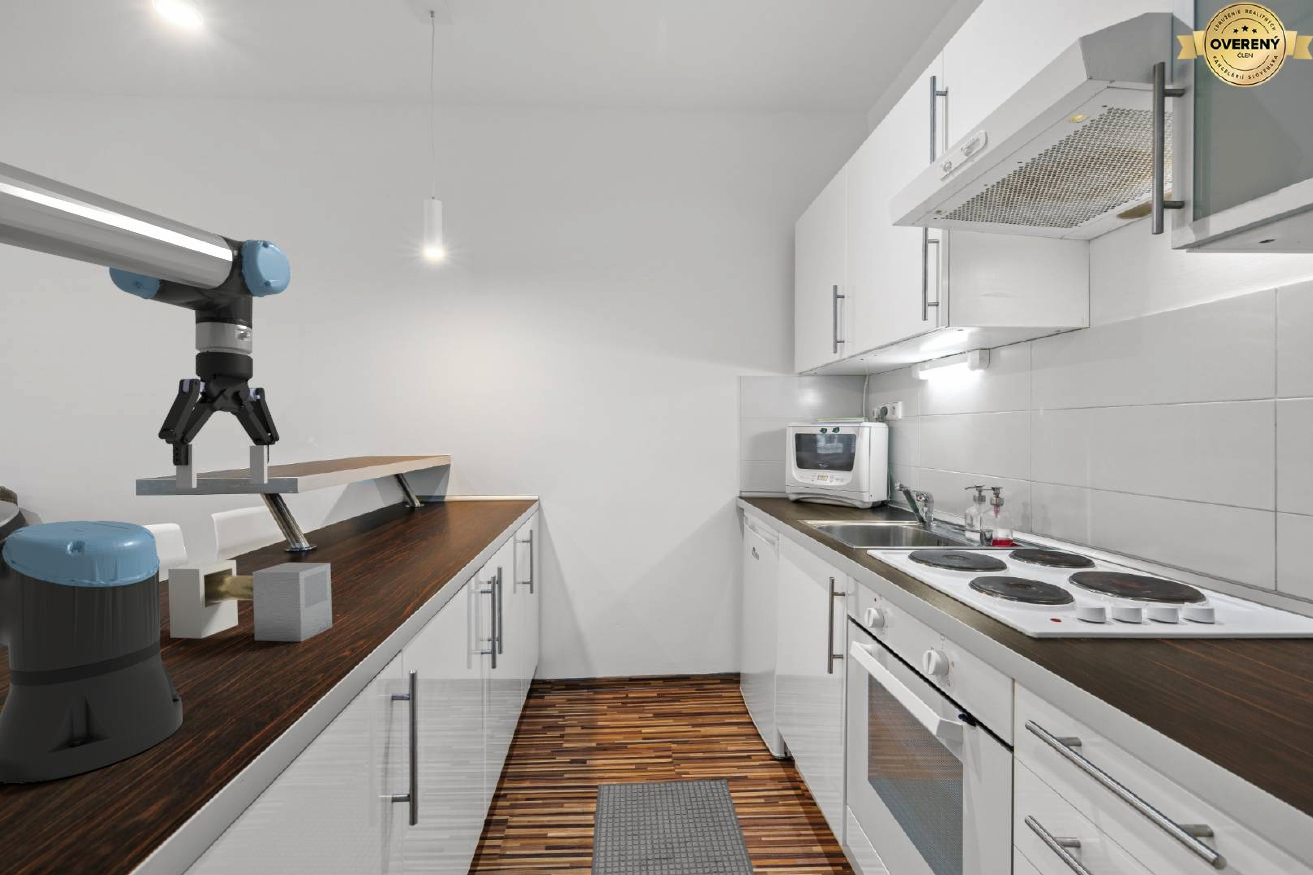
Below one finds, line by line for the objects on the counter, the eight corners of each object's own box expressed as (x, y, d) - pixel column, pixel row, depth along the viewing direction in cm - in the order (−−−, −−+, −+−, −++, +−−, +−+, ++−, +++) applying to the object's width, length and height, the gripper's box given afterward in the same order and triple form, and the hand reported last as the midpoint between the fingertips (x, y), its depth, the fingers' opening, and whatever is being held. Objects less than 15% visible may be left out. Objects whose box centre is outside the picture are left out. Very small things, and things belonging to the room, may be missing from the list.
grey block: (332, 627, 102) (330, 562, 102) (301, 641, 95) (299, 572, 95) (288, 626, 103) (286, 562, 103) (254, 640, 97) (252, 572, 97)
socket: (238, 624, 105) (235, 560, 105) (201, 638, 98) (199, 569, 98) (208, 623, 106) (206, 559, 106) (170, 637, 99) (168, 568, 99)
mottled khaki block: (287, 596, 102) (286, 573, 102) (268, 603, 98) (267, 579, 98) (216, 595, 104) (215, 572, 104) (194, 602, 100) (194, 578, 100)
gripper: (173, 338, 84) (173, 489, 83) (301, 364, 108) (302, 481, 108) (126, 340, 85) (125, 490, 84) (264, 366, 109) (264, 482, 109)
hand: (225, 485), depth 96 cm, fingers open, 13 cm apart
